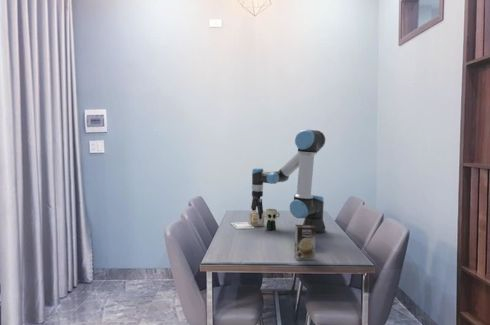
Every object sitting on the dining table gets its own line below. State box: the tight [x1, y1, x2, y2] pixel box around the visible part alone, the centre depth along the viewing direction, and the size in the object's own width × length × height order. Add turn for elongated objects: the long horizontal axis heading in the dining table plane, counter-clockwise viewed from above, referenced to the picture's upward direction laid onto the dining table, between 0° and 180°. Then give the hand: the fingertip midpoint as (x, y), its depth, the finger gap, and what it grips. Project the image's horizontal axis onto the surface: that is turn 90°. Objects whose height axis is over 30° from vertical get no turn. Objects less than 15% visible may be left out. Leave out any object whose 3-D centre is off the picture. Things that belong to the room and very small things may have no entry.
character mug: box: [263, 208, 281, 230], centre depth 235 cm, size 11×7×13 cm, turn 95°
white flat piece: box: [230, 221, 256, 231], centre depth 242 cm, size 16×12×1 cm
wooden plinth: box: [249, 211, 265, 227], centre depth 248 cm, size 8×8×8 cm
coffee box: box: [293, 224, 317, 261], centre depth 177 cm, size 9×6×16 cm
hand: (256, 221), depth 248 cm, fingers open, 12 cm apart
